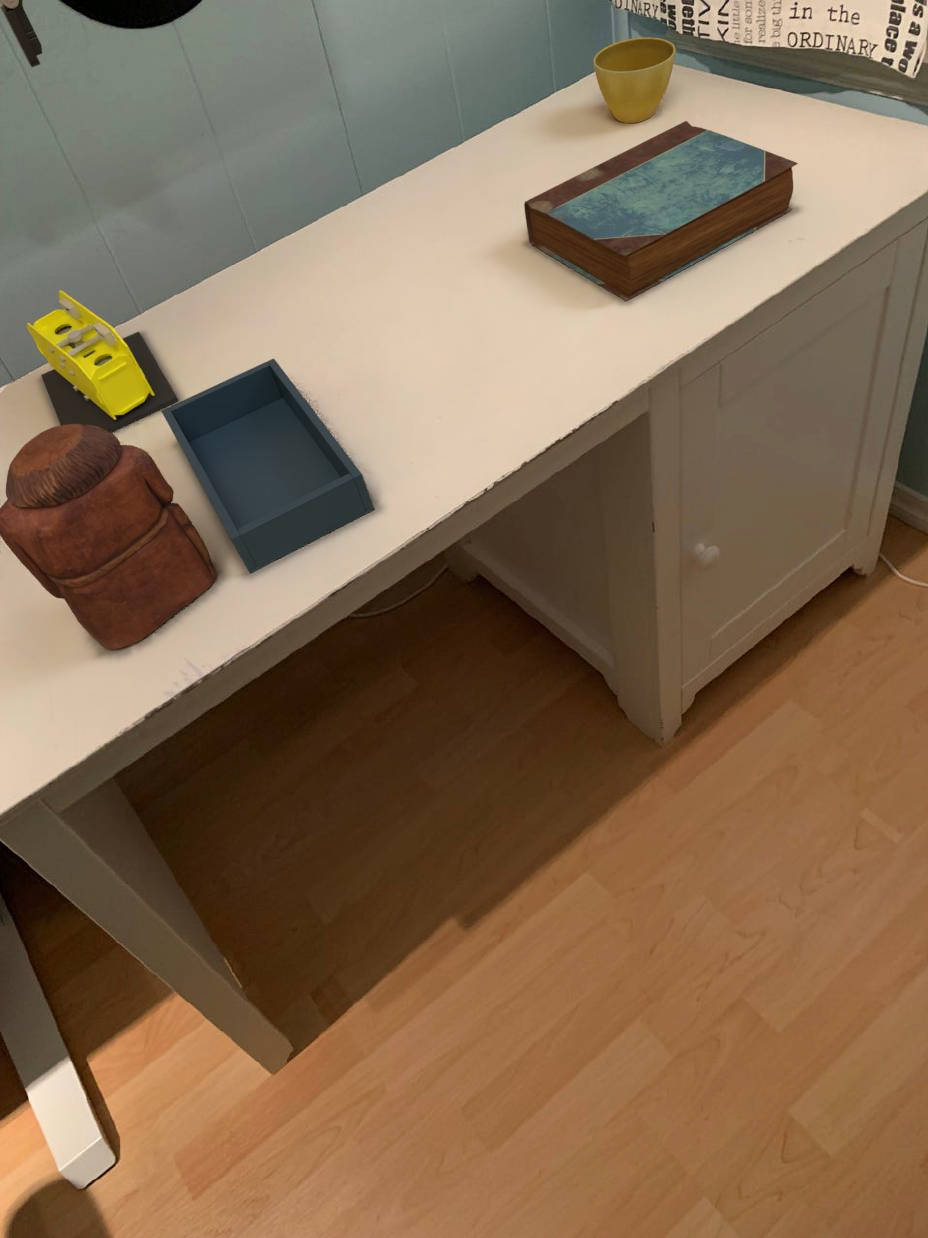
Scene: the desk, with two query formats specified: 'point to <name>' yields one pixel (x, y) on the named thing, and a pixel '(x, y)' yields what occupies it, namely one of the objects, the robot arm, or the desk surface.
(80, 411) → the mat
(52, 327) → the yellow toy chassis
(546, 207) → the book
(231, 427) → the bin
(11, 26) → the robot arm
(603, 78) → the flower pot
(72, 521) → the wooden figurine
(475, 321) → the desk surface
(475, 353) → the desk surface
